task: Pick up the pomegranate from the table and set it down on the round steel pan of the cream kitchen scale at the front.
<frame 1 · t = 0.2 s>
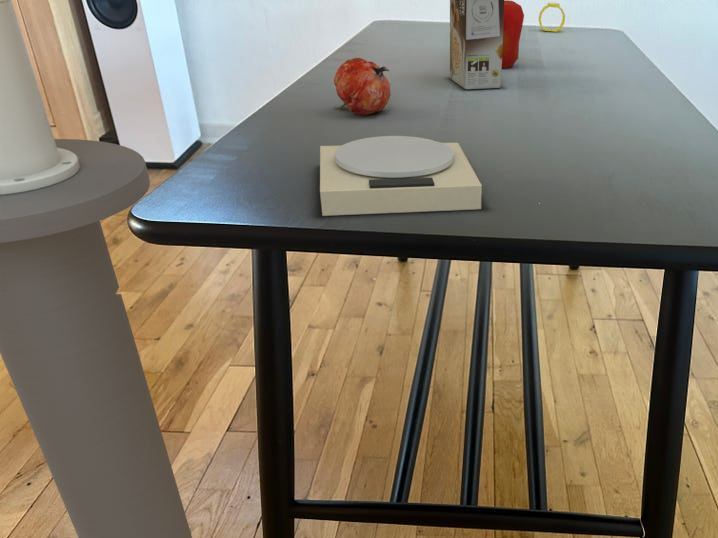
scale: (396, 187, 71), on the table
pomegranate: (362, 114, 95), on the table
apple: (498, 67, 126), on the table
coffee box: (474, 84, 113), on the table
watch: (550, 32, 162), on the table
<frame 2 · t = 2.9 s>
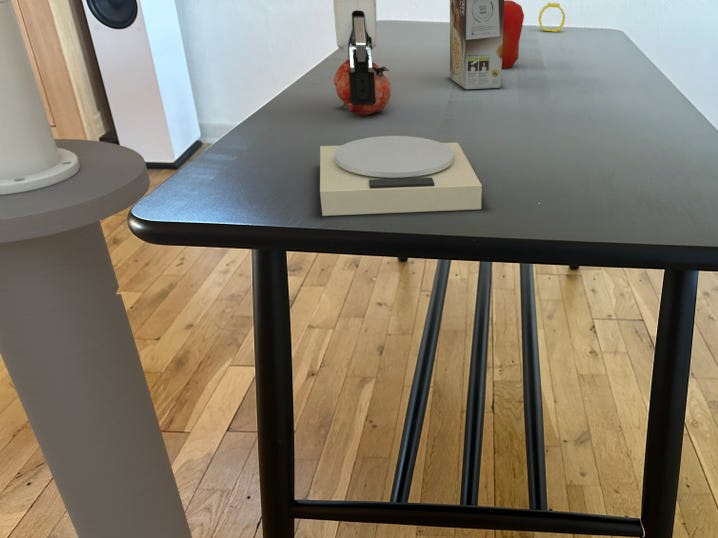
hand: (361, 96, 94), 2 cm above the table, tool pointing down, fingers closed on pomegranate, 7 cm apart
pomegranate: (362, 114, 95), on the table, touching gripper
everything else where it was.
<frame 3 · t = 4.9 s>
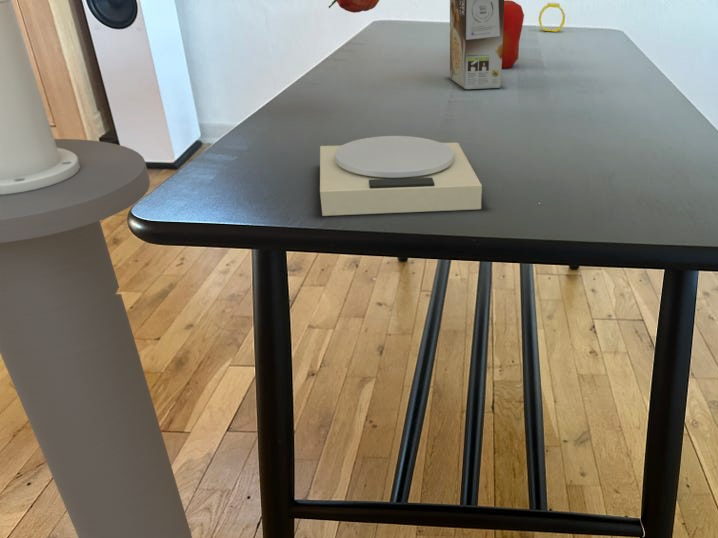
pomegranate: (352, 13, 88), point 12 cm above the table, touching gripper
everything else where it was.
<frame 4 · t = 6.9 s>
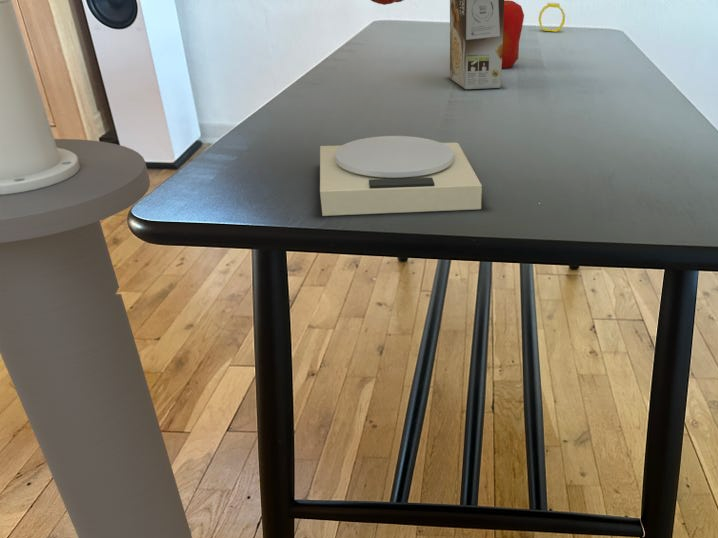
pomegranate: (381, 5, 66), point 16 cm above the table, touching gripper
everything else where it was.
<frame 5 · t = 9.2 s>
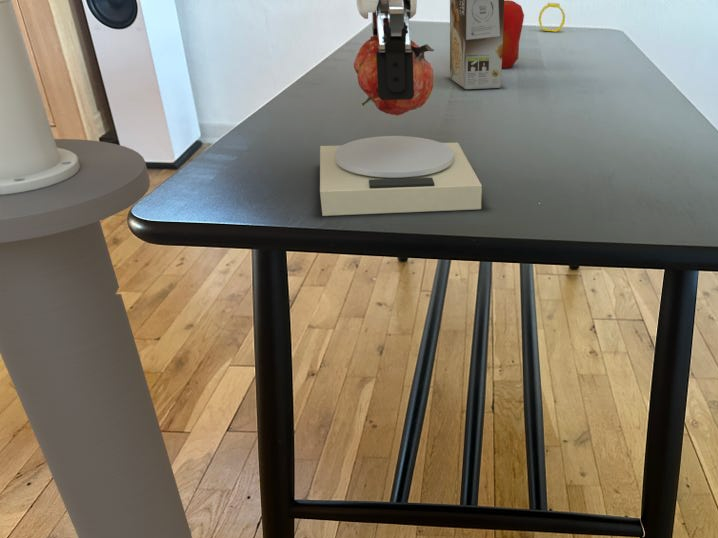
hand: (392, 87, 66), 10 cm above the table, tool pointing down, fingers closed on pomegranate, 7 cm apart
pomegranate: (394, 113, 68), point 7 cm above the table, touching gripper
everything else where it was.
when the fingers open (6 cm above the table, at t = 10.8 s): pomegranate stays where it is, resting on scale.
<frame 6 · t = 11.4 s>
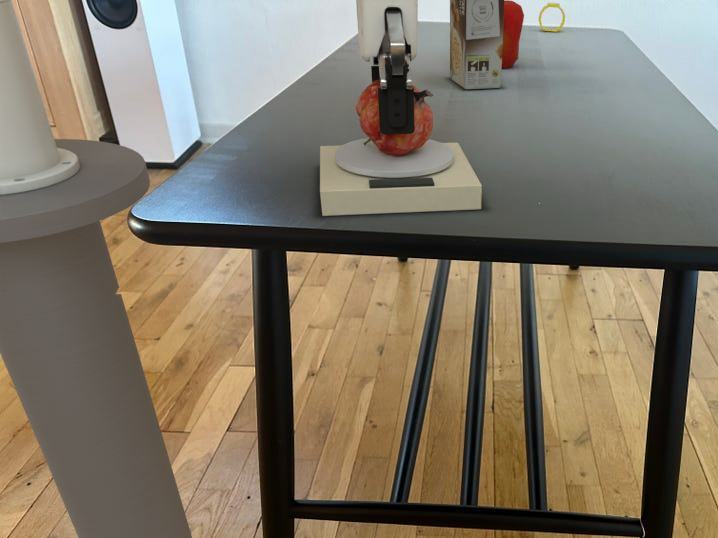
hand: (392, 119, 68), 7 cm above the table, tool pointing down, fingers open, 9 cm apart
pomegranate: (394, 154, 70), point 3 cm above the table, touching scale
everything else where it was.
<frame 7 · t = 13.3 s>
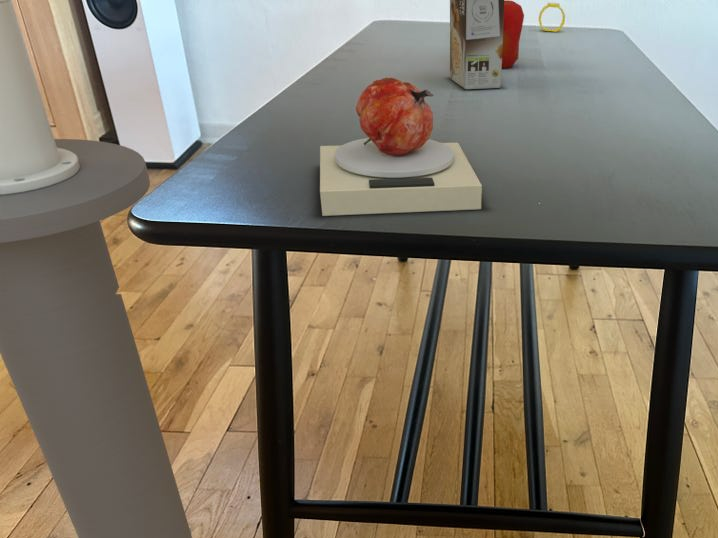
nothing on the table moved.
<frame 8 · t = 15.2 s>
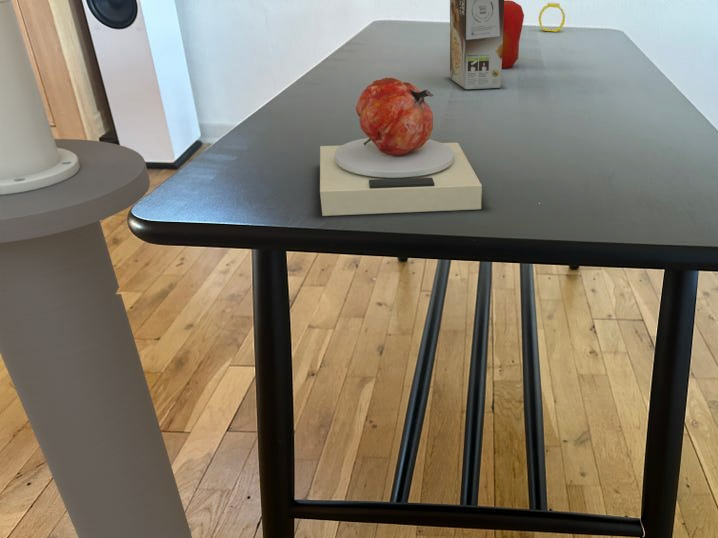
nothing on the table moved.
at the end: pomegranate inside the target area on the scale (0.1 cm from its centre), point 3.1 cm above the scale's base; the gripper is holding nothing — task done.
